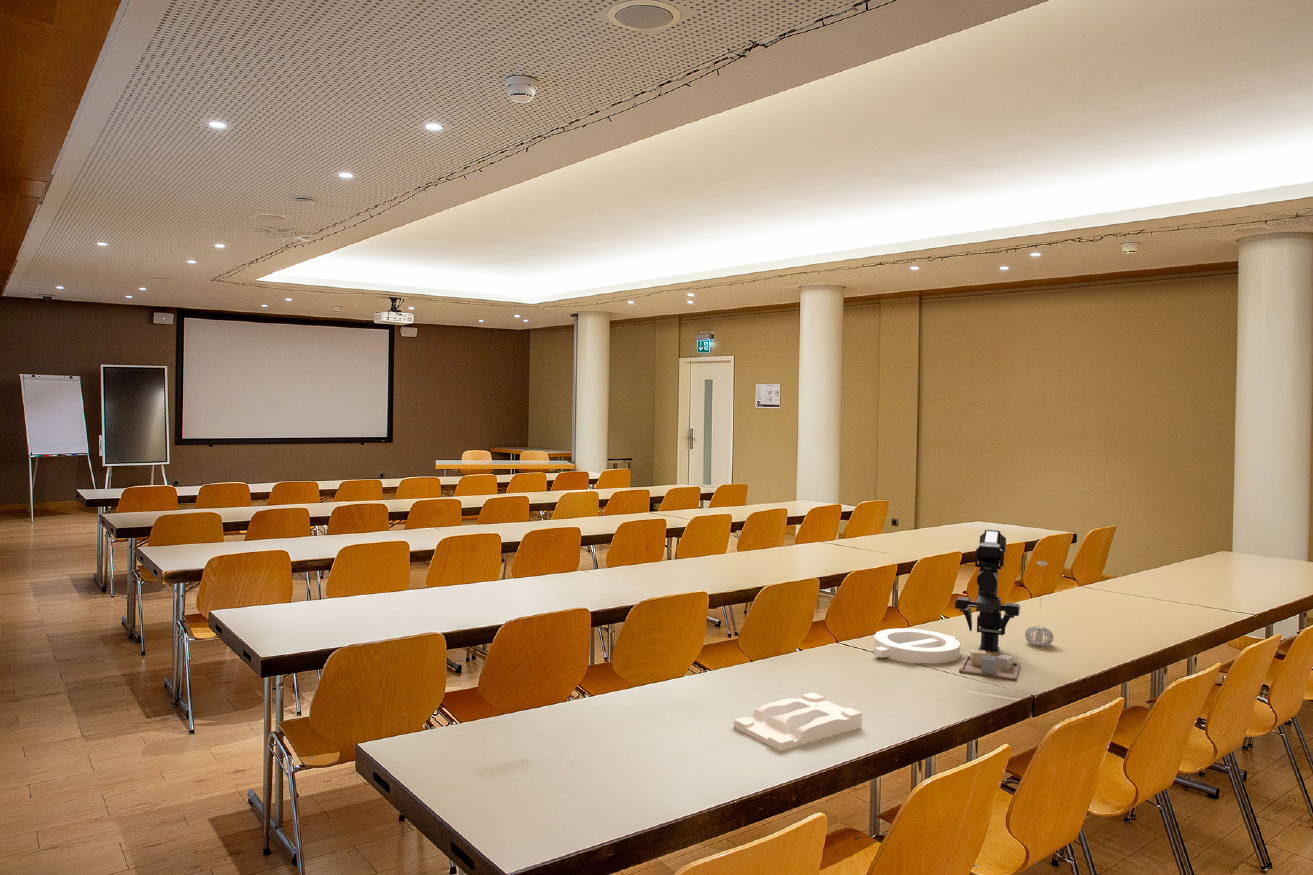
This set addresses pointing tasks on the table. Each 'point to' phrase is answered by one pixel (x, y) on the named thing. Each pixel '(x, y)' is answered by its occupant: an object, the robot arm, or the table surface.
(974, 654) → the tan cube
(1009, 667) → the beige cube
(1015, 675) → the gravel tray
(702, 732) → the table surface
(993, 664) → the grey cube block
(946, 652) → the ring with crossbar
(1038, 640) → the pendant light
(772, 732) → the mold
